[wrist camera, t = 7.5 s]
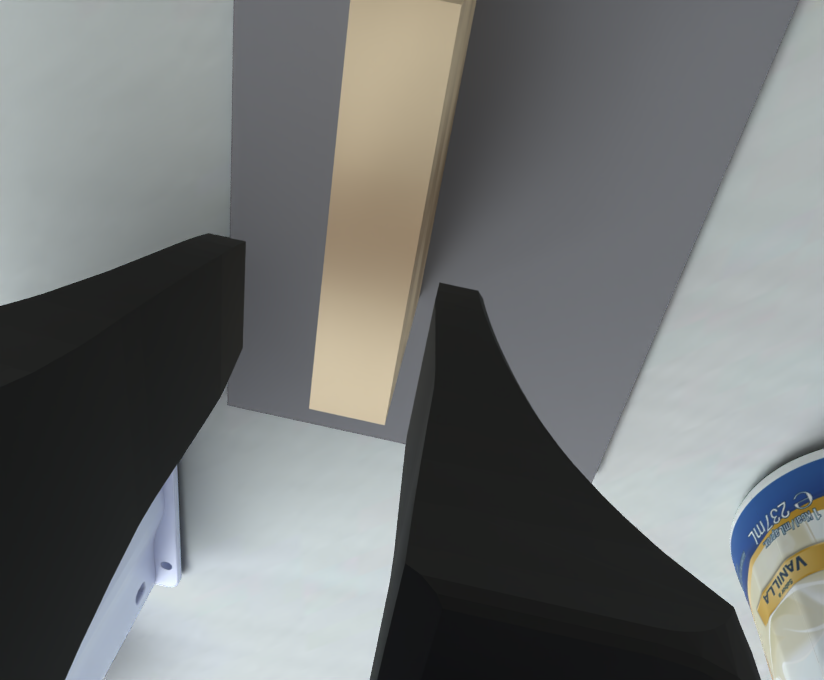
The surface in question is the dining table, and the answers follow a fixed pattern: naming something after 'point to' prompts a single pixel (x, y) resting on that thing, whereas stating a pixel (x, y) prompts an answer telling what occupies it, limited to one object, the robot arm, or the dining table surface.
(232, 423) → the dining table surface
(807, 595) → the beverage bottle
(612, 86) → the rubber mat
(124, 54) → the dining table surface
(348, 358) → the oak slab
